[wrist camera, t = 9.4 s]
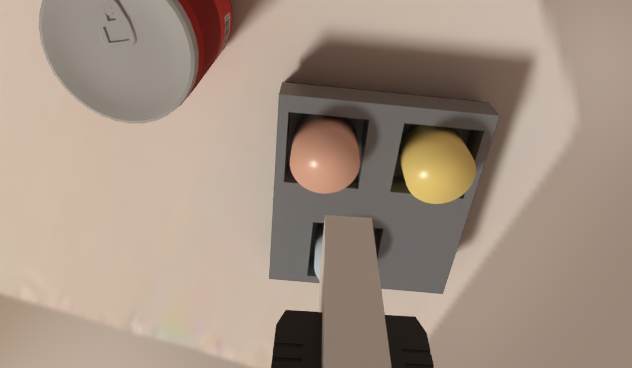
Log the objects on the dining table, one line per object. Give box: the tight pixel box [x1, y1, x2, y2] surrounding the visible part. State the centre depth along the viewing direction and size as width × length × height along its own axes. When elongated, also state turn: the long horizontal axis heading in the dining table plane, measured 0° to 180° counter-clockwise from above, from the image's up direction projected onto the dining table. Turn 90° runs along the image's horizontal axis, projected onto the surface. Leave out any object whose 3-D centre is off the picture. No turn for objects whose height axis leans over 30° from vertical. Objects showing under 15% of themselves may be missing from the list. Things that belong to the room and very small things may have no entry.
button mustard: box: [399, 125, 476, 204], centre depth 33 cm, size 5×5×4 cm
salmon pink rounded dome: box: [290, 114, 360, 194], centre depth 33 cm, size 5×5×4 cm
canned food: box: [39, 0, 232, 123], centre depth 27 cm, size 8×8×11 cm
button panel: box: [269, 82, 499, 294], centre depth 37 cm, size 16×15×4 cm
